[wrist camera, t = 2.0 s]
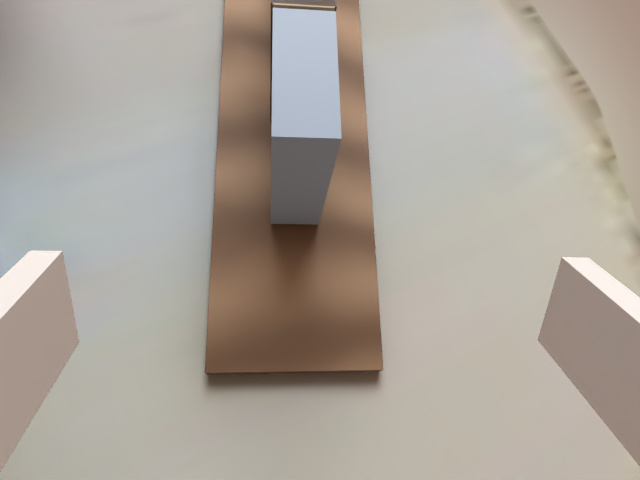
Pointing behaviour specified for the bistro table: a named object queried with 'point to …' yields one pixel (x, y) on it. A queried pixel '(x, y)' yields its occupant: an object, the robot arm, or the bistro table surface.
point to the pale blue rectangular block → (303, 113)
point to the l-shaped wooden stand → (289, 239)
